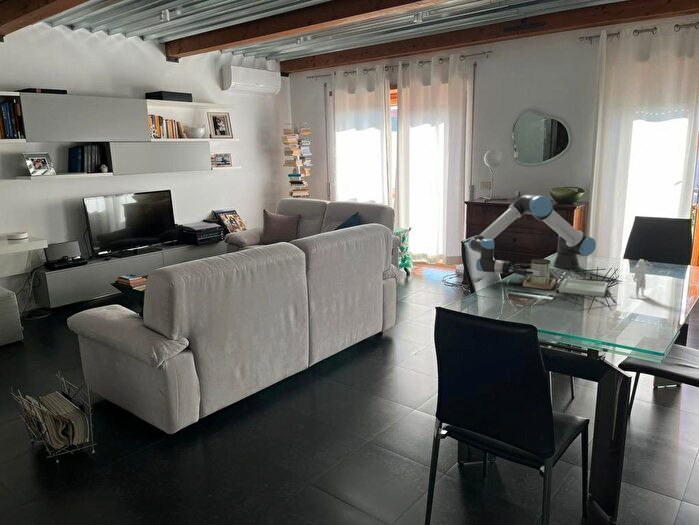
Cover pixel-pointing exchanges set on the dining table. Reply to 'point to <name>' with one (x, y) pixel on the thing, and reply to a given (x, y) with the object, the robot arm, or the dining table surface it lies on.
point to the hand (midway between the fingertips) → (541, 270)
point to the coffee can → (540, 271)
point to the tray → (583, 287)
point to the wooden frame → (539, 284)
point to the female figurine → (640, 279)
